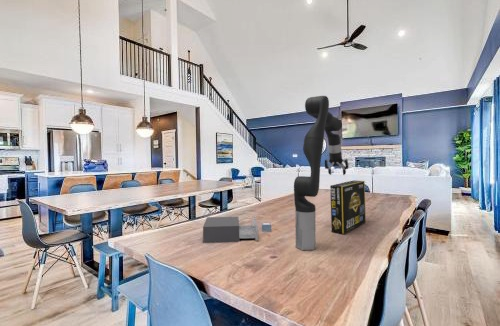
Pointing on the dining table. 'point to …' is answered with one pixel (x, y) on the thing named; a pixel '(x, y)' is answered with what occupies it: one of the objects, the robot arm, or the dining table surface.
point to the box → (347, 206)
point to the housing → (221, 229)
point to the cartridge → (266, 227)
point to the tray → (249, 230)
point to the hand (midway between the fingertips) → (337, 174)
